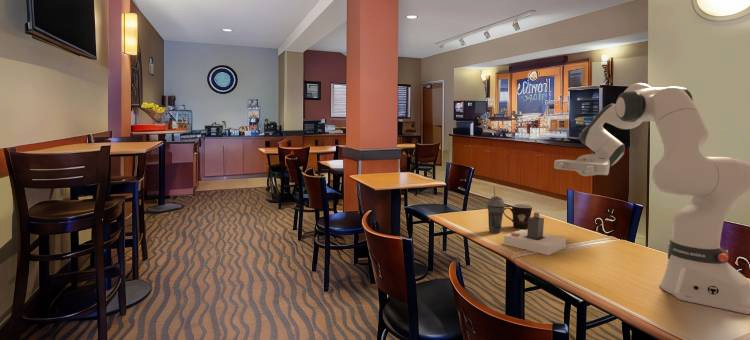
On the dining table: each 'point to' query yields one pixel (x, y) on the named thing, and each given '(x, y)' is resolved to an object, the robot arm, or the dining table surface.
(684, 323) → the dining table surface
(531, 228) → the dark grey bottle
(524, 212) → the coffee mug
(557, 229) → the dining table surface
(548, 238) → the flat white box
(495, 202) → the beverage cup
